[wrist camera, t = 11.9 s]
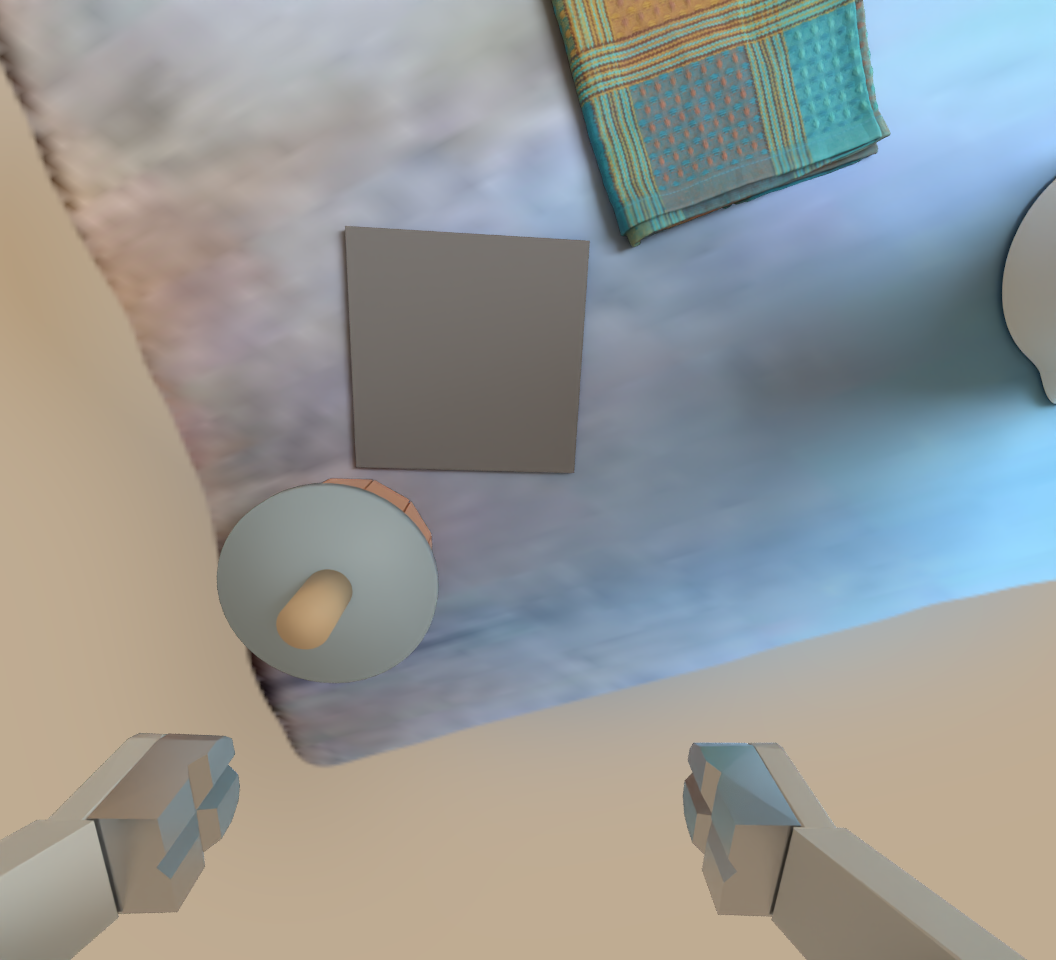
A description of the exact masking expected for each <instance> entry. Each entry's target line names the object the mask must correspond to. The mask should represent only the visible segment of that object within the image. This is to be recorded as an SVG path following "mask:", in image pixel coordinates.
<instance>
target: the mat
mask: <svg viewBox="0 0 1056 960" xmlns="http://www.w3.org/2000/svg"><path fill="white" fill-rule="evenodd" d="M345 236H346V258H347V280H348V301H349V323H350V345H351V366H352V388H353V410H354V431H355V453H356V467H369V468H406V469H443V470H480V471H517V472H554V473H574V465H575V450H576V435H577V420H578V405H579V391H580V376H581V361H582V346H583V332H584V317H585V302H586V287H587V272H588V258H589V243H590V241H583V240H567V239H550V238H534V237H518V236H501V235H485V234H468V233H452V232H435V231H419V230H402V229H386V228H370V227H353V226H345Z"/></svg>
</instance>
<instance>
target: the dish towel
mask: <svg viewBox="0 0 1056 960" xmlns="http://www.w3.org/2000/svg"><path fill="white" fill-rule="evenodd" d="M552 4H553V8H554V13H555V15H556V18H557V21H558V24H559V27H560V31H561V34H562V37H563V41H564V44H565V49H566V53H567V56H568V60H569V65H570V69H571V73H572V76H573V79H574V83H575V87H576V91H577V95H578V98H579V102H580V105H581V109H582V112H583V116H584V120H585V123H586V127H587V132H588V135H589V139H590V142H591V144H592V147H593V151H594V154H595V156H596V159H597V163H598V166H599V170H600V172H601V175H602V179H603V184H604V187H605V189H606V191H607V194H608V197H609V201H610V202H611V204H612V206H613V209H614V212H615V215H616V218H617V222H618V225H619V229H620V233H621V235H622V236H626V235H627V237H628V239H629V242H630V244H631V246H632V247H635V246H638V245H639V244H640V243H641V241H640V240H642V239H643V238H645V237H647V236H650V235H653V234H655V233H658V232H660V231H663V230H665V229H668V228H671V227H674V226H676V225H679V224H682V223H685V222H687V221H690V220H692V219H695V218H698V217H700V216H703V215H706V214H708V213H711V212H713V211H716V210H718V209H721V208H725V209H726V208H728V207H730V206H731V205H732V204H739V203H742V202H748V201H751V200H753V199H755V198H758V197H760V196H762V195H765V194H767V193H770V192H774V191H778V190H781V189H784V188H787V187H790V186H793V185H795V184H798V183H801V182H803V181H806V180H810V179H813V178H816V177H819V176H822V175H825V174H828V173H831V172H833V171H836V170H838V169H840V168H843V167H845V166H848V165H852V164H854V163H856V162H859V161H860V160H861V159H863V158H864V157H867V156H870V155H872V154H876V153H877V152H878V146H877V144H876V142H878V141H880V140H881V139H883V138H885V137H888V136H889V135H890V131H889V129H888V127H887V125H886V123H885V121H884V119H883V117H882V116H881V114H880V112H879V111H878V104H877V102H876V96H875V87H874V84H873V68H872V66H871V62H870V51H869V47H868V41H867V30H866V24H865V11H864V5H863V0H552Z"/></svg>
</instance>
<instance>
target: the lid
mask: <svg viewBox="0 0 1056 960" xmlns="http://www.w3.org/2000/svg"><path fill="white" fill-rule="evenodd" d="M217 590H218V595H219V600H220V604H221V606H222V609H223V612H224V615H225V617H226V619H227V621H228V622H229V625H230V626H231V628H232V629H233V631H234V632H235V634H236V635H237V637H238V638H239V639H240V640H241V641H242V642H243V644H244V645H245V646H246V647H247V648H248V649H249V650H250V651H251V652H253V653H254V654H255V655H256V656H257V657H259V658H260V659H261V660H263V661H264V662H266V663H267V664H269V665H270V666H272V667H274V668H276V669H278V670H280V671H282V672H284V673H287V674H289V675H292V676H294V677H298V678H302V679H305V680H310V681H316V682H324V683H345V682H353V681H359V680H363V679H367V678H370V677H374V676H376V675H378V674H381V673H383V672H385V671H387V670H389V669H391V668H392V667H394V666H396V665H397V664H399V663H400V662H401V661H403V660H404V659H405V658H407V657H408V656H409V655H410V654H411V653H412V652H413V651H414V650H415V649H416V647H417V646H418V645H419V643H420V642H421V641H422V639H423V638H424V636H425V634H426V633H427V631H428V629H429V627H430V624H431V622H432V619H433V616H434V612H435V608H436V603H437V599H438V590H439V579H438V570H437V565H436V561H435V558H434V555H433V552H432V550H431V547H430V545H429V543H428V542H427V540H426V538H425V536H424V535H423V533H422V532H421V530H420V529H419V528H418V526H417V525H416V524H415V523H414V522H413V521H412V520H411V519H410V517H409V516H408V515H407V514H405V513H404V512H403V511H402V510H401V509H399V508H398V507H397V506H395V505H394V504H392V503H391V502H389V501H388V500H386V499H385V498H383V497H380V496H378V495H376V494H374V493H372V492H370V491H367V490H364V489H361V488H358V487H353V486H349V485H344V484H334V483H314V484H308V485H301V486H297V487H294V488H291V489H287V490H285V491H282V492H280V493H278V494H276V495H273V496H272V497H270V498H269V499H267V500H265V501H264V502H262V503H261V504H259V505H257V506H256V507H254V508H253V509H252V510H251V511H249V512H248V513H247V514H246V515H245V516H243V517H242V519H241V520H240V521H239V522H238V523H237V524H236V525H235V527H234V528H233V529H232V531H231V533H230V534H229V536H228V537H227V539H226V541H225V544H224V546H223V548H222V551H221V554H220V558H219V562H218V569H217Z"/></svg>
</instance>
